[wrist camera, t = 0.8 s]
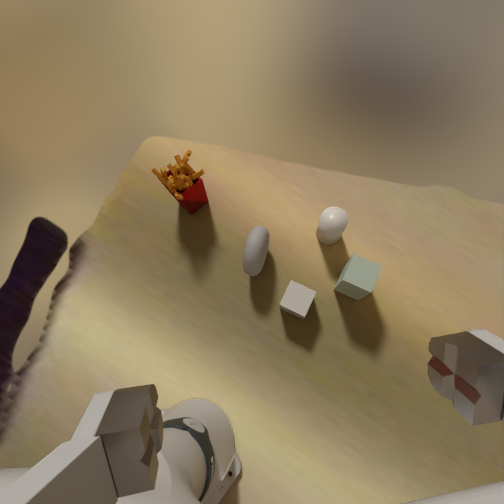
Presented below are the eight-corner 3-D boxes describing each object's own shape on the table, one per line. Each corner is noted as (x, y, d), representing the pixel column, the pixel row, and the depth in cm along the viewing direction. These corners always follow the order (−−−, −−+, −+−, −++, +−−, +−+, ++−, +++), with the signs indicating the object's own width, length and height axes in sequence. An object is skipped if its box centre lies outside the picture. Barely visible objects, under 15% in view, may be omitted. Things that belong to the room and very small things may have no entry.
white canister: (335, 248, 65) (341, 235, 57) (312, 239, 66) (316, 225, 58) (344, 228, 66) (352, 212, 58) (322, 218, 67) (327, 202, 59)
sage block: (357, 300, 61) (371, 292, 52) (333, 289, 62) (342, 279, 53) (367, 278, 62) (382, 266, 53) (343, 267, 63) (353, 253, 54)
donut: (256, 234, 67) (252, 215, 58) (272, 237, 67) (270, 219, 57) (244, 278, 65) (237, 267, 55) (260, 282, 64) (256, 271, 55)
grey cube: (303, 319, 61) (305, 317, 56) (279, 308, 62) (279, 304, 57) (313, 296, 62) (316, 291, 57) (290, 285, 63) (291, 280, 58)
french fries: (173, 200, 71) (145, 164, 57) (201, 178, 72) (181, 136, 58) (196, 226, 69) (173, 196, 55) (225, 203, 70) (210, 167, 56)
